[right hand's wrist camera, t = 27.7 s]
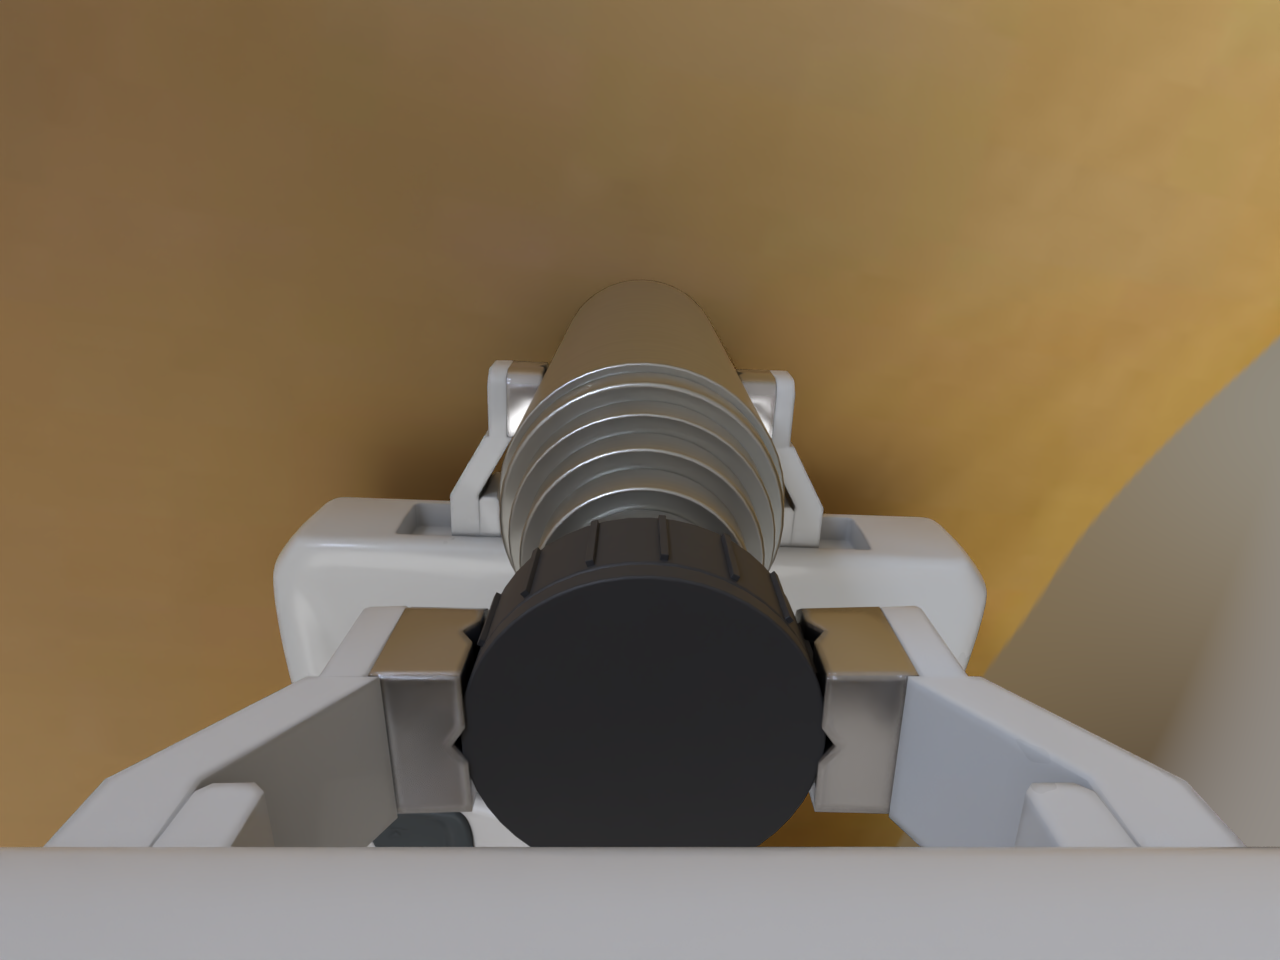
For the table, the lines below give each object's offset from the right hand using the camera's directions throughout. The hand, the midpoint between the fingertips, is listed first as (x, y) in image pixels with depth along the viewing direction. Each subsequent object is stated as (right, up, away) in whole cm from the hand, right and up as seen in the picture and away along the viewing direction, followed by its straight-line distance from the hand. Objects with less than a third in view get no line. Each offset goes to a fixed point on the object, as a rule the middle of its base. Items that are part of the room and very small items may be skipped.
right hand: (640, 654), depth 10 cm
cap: (0, 0, -1) cm, 1 cm away
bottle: (0, +6, +17) cm, 18 cm away
